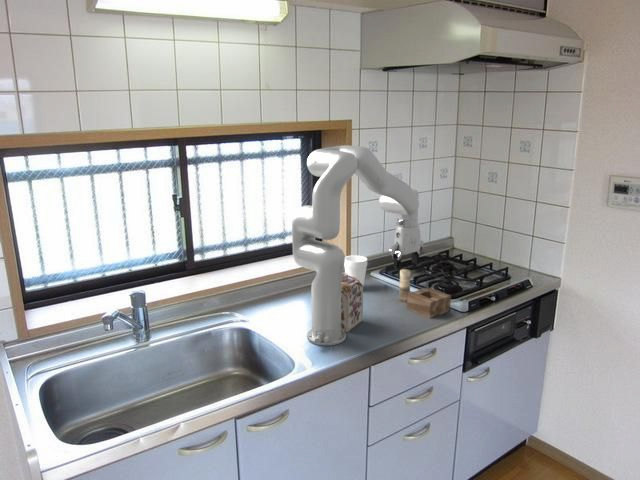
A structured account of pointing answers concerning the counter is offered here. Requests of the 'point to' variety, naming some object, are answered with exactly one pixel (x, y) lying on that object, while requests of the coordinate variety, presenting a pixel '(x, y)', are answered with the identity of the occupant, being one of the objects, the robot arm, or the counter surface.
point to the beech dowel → (404, 284)
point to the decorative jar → (351, 302)
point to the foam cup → (356, 267)
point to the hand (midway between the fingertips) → (406, 266)
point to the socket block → (428, 302)
